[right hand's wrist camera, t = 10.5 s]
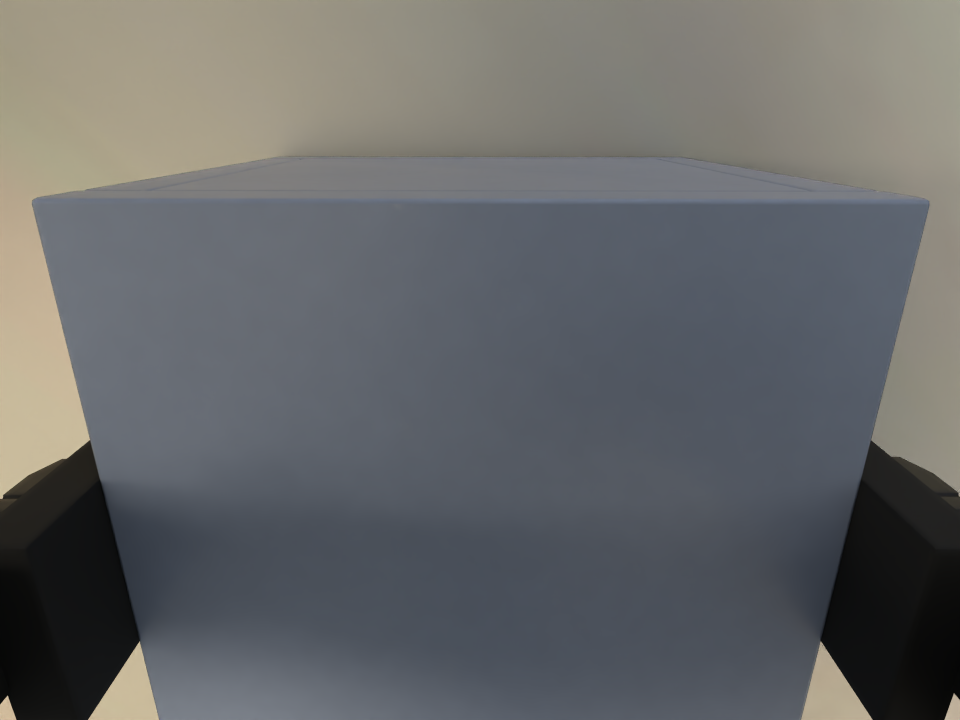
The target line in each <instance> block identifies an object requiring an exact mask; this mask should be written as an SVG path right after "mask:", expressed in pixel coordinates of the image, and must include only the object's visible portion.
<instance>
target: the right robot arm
mask: <svg viewBox="0 0 960 720" xmlns="http://www.w3.org/2000/svg"><path fill="white" fill-rule="evenodd" d="M139 641H140V640H139V636H138V631H137V627H136V623H135V619H134V615H133V611H132V607H131V603H130V599H129V595H128V591H127V587H126V583H125V579H124V575H123V571H122V567H121V563H120V559H119V554H118V550H117V546H116V542H115V538H114V534H113V530H112V526H111V522H110V518H109V514H108V510H107V506H106V502H105V498H104V494H103V490H102V486H101V482H100V477H99V473H98V469H97V465H96V461H95V457H94V453H93V449H92V445H91V441H88V442H87V443H86V444H85V445H83V446H82V447H81V448H80V449H79V450H77V451H76V452H75V453H74V454H72V455H71V456H70V457H69V458H67V459H61V460H59V461H57V462H55V463H53V464H51V465H49V466H47V467H45V468H43V469H41V470H39V471H37V472H35V473H33V474H31V475H28V476H27V477H26V478H25V479H23V480H22V481H21V482H19V483H18V484H17V485H16V486H14V487H13V488H12V489H10V490H9V491H8V492H7V493H5V494H4V495H3V499H0V704H1V703H2V701H3V700H4V699H5V698H6V697H7V695H8V697H9V700H10V703H11V706H12V708H13V711H14V714H15V717H16V720H88V719H89V717H90V716H91V714H92V713H93V711H94V710H95V708H96V707H97V705H98V704H99V702H100V701H101V699H102V697H103V696H104V694H105V693H106V691H107V690H108V688H109V687H110V685H111V684H112V682H113V681H114V679H115V678H116V676H117V675H118V673H119V672H120V670H121V669H122V667H123V666H124V664H125V663H126V661H127V659H128V658H129V656H130V655H131V653H132V652H133V650H134V649H135V647H136V646H137V644H138V643H139ZM821 642H822V643H823V645H824V646H825V648H826V649H827V651H828V652H829V654H830V655H831V657H832V658H833V660H834V662H835V663H836V665H837V666H838V668H839V669H840V671H841V672H842V674H843V675H844V677H845V678H846V680H847V681H848V683H849V684H850V686H851V687H852V689H853V690H854V692H855V693H856V695H857V696H858V698H859V700H860V701H861V703H862V704H863V706H864V707H865V709H866V710H867V712H868V713H869V715H870V716H871V718H872V719H873V720H944V719H945V716H946V714H947V711H948V708H949V705H950V702H951V700H952V697H953V694H954V693H955V695H956V696H957V697H958V698H959V699H960V497H959V495H958V492H957V491H955V490H954V489H953V488H951V487H950V486H949V485H948V484H946V483H945V482H944V481H942V480H941V479H940V478H939V477H937V476H936V475H935V474H933V473H931V472H929V471H927V470H925V469H923V468H921V467H919V466H917V465H915V464H913V463H911V462H909V461H907V460H905V459H903V458H900V457H891V456H890V455H888V454H887V453H886V452H885V451H883V450H882V449H881V448H880V447H878V446H877V445H876V444H875V443H874V442H872V441H870V445H869V449H868V453H867V457H866V461H865V465H864V469H863V473H862V477H861V481H860V485H859V489H858V493H857V497H856V501H855V505H854V509H853V513H852V517H851V521H850V525H849V529H848V533H847V537H846V541H845V545H844V549H843V553H842V557H841V561H840V565H839V569H838V573H837V577H836V581H835V585H834V589H833V593H832V597H831V601H830V605H829V609H828V613H827V617H826V621H825V625H824V629H823V633H822V637H821Z"/></svg>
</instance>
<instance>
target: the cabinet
mask: <svg viewBox="0 0 960 720" xmlns="http://www.w3.org/2000/svg"><path fill="white" fill-rule="evenodd" d="M32 206H33V210H34V214H35V218H36V222H37V226H38V230H39V234H40V238H41V242H42V247H43V251H44V255H45V259H46V263H47V267H48V271H49V275H50V279H51V283H52V287H53V291H54V295H55V299H56V303H57V307H58V311H59V315H60V319H61V324H62V328H63V332H64V336H65V340H66V344H67V348H68V352H69V356H70V360H71V364H72V368H73V372H74V376H75V380H76V384H77V388H78V392H79V396H80V401H81V405H82V409H83V413H84V417H85V421H86V425H87V429H88V433H89V437H90V441H91V445H92V449H93V453H94V457H95V461H96V465H97V469H98V473H99V477H100V482H101V486H102V490H103V494H104V498H105V502H106V506H107V510H108V514H109V518H110V522H111V526H112V530H113V534H114V538H115V542H116V546H117V550H118V554H119V559H120V563H121V567H122V571H123V575H124V579H125V583H126V587H127V591H128V595H129V599H130V603H131V607H132V611H133V615H134V619H135V623H136V627H137V631H138V636H139V640H140V644H141V648H142V652H143V656H144V660H145V664H146V668H147V672H148V676H149V680H150V684H151V688H152V692H153V696H154V700H155V704H156V708H157V713H158V717H159V720H801V717H802V713H803V709H804V705H805V701H806V697H807V693H808V689H809V685H810V681H811V677H812V673H813V669H814V665H815V661H816V657H817V653H818V649H819V645H820V641H821V637H822V633H823V629H824V625H825V621H826V617H827V613H828V609H829V605H830V601H831V597H832V593H833V589H834V585H835V581H836V577H837V573H838V569H839V565H840V561H841V557H842V553H843V549H844V545H845V541H846V537H847V533H848V529H849V525H850V521H851V517H852V513H853V509H854V505H855V501H856V497H857V493H858V489H859V485H860V481H861V477H862V473H863V469H864V465H865V461H866V457H867V453H868V449H869V445H870V441H871V437H872V433H873V429H874V425H875V421H876V417H877V413H878V409H879V405H880V401H881V397H882V393H883V389H884V385H885V381H886V377H887V373H888V369H889V365H890V361H891V357H892V353H893V349H894V345H895V341H896V337H897V333H898V329H899V325H900V321H901V317H902V313H903V309H904V305H905V301H906V297H907V293H908V289H909V285H910V281H911V277H912V273H913V269H914V265H915V261H916V257H917V253H918V249H919V245H920V241H921V237H922V233H923V229H924V225H925V221H926V217H927V213H928V209H929V201H928V200H926V199H924V198H918V197H913V196H907V195H901V194H895V193H889V192H877V191H875V190H869V189H864V188H858V187H852V186H846V185H840V184H834V183H829V182H823V181H817V180H811V179H805V178H799V177H794V176H788V175H782V174H776V173H770V172H764V171H758V170H753V169H747V168H741V167H735V166H729V165H723V164H718V163H712V162H706V161H700V160H694V159H689V158H683V157H275V158H270V159H263V160H258V161H252V162H246V163H240V164H234V165H228V166H222V167H216V168H210V169H205V170H199V171H193V172H187V173H181V174H175V175H169V176H163V177H157V178H152V179H146V180H140V181H134V182H128V183H122V184H116V185H110V186H105V187H99V188H93V189H87V190H85V191H73V192H67V193H61V194H55V195H49V196H43V197H38V198H35V199H34V200H32Z"/></svg>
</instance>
